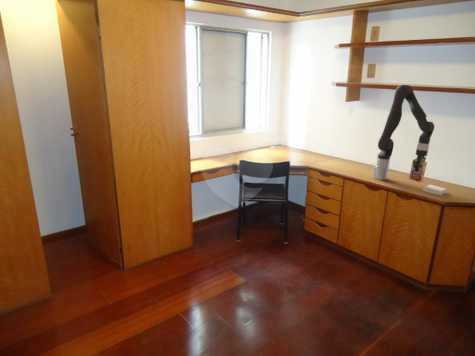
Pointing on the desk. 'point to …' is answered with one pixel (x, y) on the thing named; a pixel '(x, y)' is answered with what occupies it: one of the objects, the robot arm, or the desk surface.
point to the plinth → (434, 190)
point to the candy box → (420, 174)
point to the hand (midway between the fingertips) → (417, 171)
